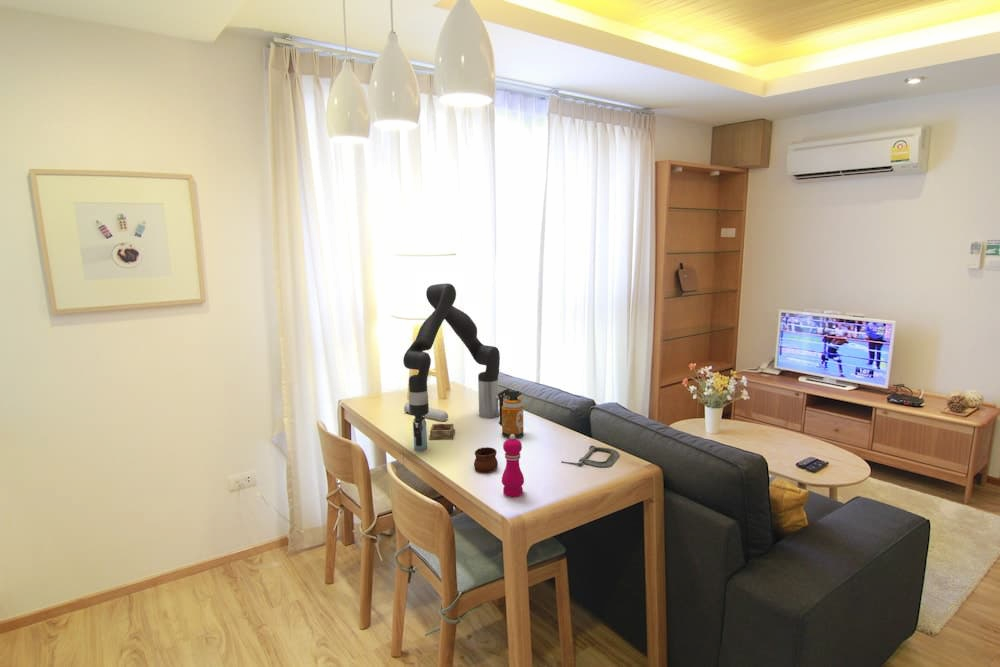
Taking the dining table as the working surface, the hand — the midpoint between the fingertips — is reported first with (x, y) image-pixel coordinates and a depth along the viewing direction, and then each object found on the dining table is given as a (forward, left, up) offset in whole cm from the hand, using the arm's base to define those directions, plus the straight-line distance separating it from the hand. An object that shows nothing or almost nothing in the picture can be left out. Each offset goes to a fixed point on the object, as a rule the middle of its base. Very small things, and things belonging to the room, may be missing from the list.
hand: (420, 442), depth 217 cm
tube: (+3, -41, -3) cm, 41 cm away
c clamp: (-67, +11, -3) cm, 68 cm away
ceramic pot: (-27, +20, -3) cm, 33 cm away
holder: (-7, -15, -3) cm, 17 cm away
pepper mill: (-36, +40, -3) cm, 54 cm away
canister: (-36, -14, -3) cm, 39 cm away
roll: (0, 0, -3) cm, 3 cm away
